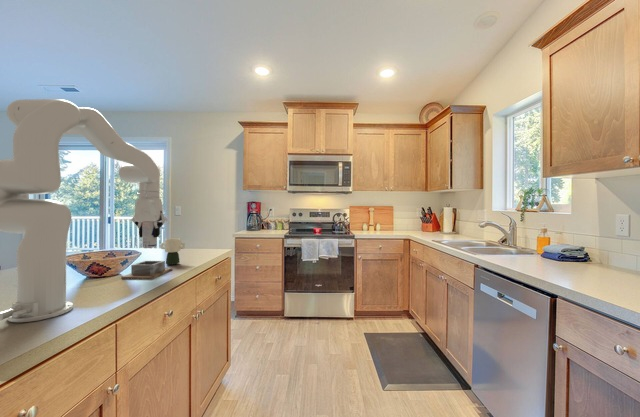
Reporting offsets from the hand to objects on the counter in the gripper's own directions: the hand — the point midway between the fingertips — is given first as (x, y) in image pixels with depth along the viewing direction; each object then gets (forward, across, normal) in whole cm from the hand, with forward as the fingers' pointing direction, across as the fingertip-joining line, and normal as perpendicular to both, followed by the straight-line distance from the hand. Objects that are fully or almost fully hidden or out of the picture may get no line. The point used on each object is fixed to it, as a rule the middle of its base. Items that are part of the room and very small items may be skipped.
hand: (149, 236), depth 118 cm
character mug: (+17, 0, +20) cm, 26 cm away
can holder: (+16, 0, 0) cm, 16 cm away
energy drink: (+5, 0, 0) cm, 5 cm away
